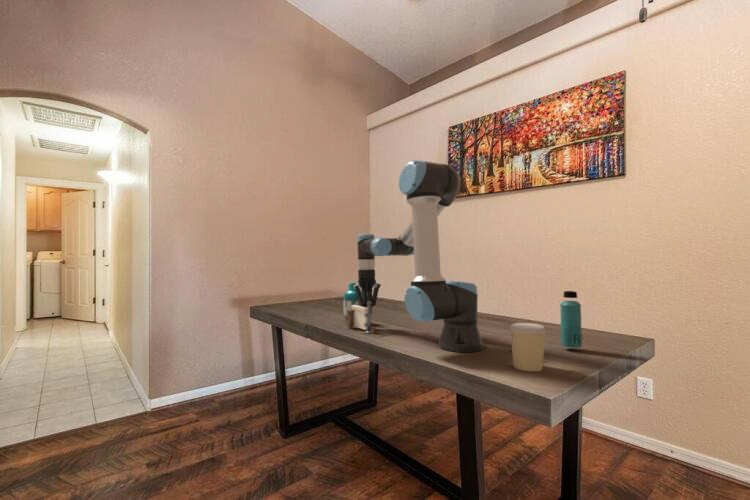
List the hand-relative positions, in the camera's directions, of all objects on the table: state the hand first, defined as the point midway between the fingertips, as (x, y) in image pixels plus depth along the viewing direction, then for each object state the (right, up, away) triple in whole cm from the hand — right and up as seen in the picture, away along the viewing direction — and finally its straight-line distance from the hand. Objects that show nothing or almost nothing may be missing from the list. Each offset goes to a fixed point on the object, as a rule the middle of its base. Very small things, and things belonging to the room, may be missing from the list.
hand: (367, 321), depth 161 cm
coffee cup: (+47, -2, -56) cm, 73 cm away
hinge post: (+1, -3, -9) cm, 9 cm away
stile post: (-8, -3, 0) cm, 8 cm away
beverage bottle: (+70, -2, -38) cm, 79 cm away
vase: (-7, -3, +12) cm, 14 cm away
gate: (-3, -2, -3) cm, 5 cm away
